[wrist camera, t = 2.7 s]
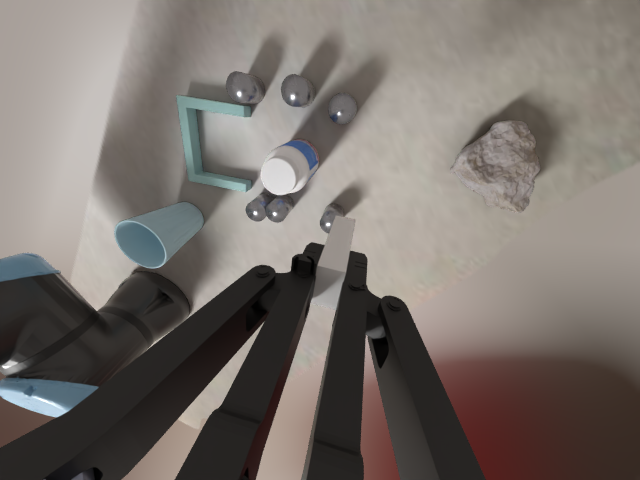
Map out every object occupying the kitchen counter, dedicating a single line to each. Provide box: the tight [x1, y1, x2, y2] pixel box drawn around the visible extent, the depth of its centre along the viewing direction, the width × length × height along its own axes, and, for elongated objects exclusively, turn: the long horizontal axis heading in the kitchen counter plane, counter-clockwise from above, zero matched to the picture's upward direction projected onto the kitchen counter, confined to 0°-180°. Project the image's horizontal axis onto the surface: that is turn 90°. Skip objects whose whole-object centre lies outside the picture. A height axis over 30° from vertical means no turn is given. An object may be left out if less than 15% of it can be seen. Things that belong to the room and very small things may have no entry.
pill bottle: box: [260, 139, 319, 195], centre depth 29 cm, size 6×5×10 cm
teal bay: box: [176, 95, 252, 192], centre depth 33 cm, size 9×11×2 cm
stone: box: [450, 120, 541, 213], centre depth 27 cm, size 8×10×6 cm
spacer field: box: [226, 71, 357, 233], centre depth 31 cm, size 16×18×4 cm
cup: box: [114, 202, 204, 268], centre depth 37 cm, size 8×8×10 cm
